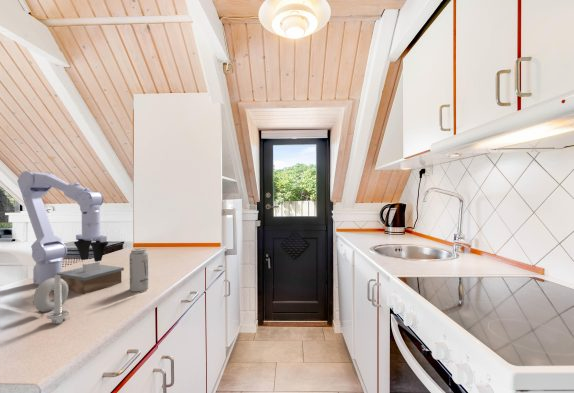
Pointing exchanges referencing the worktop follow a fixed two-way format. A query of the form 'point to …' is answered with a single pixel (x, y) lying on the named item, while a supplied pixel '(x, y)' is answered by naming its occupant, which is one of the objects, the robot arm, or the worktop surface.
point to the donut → (43, 292)
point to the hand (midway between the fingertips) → (91, 260)
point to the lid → (90, 271)
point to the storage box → (93, 283)
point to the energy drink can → (138, 270)
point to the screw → (57, 303)
